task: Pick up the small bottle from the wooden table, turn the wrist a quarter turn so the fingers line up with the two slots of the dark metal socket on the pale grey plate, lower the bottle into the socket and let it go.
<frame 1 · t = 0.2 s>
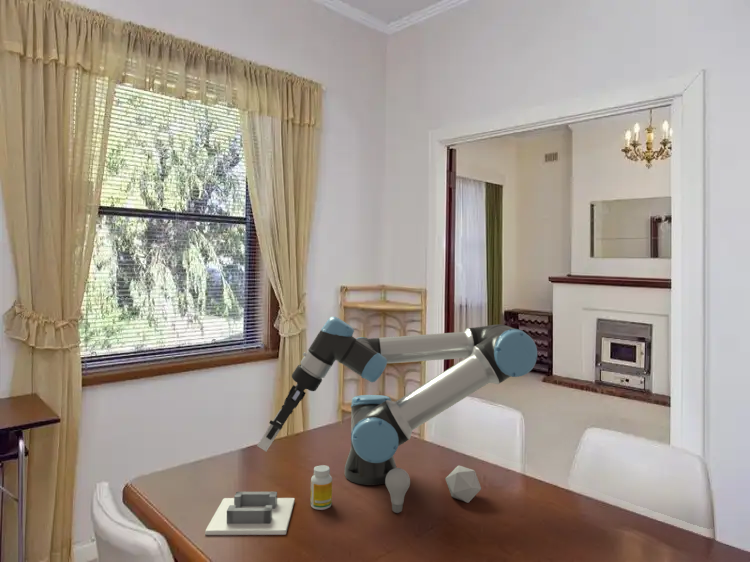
hand: (266, 439, 134), 15 cm above the table, tool tilted 30°, fingers open, 13 cm apart
lightbulb: (397, 513, 127), on the table
die: (462, 498, 135), on the table
socket: (252, 517, 124), on the table
supplement bottle: (321, 506, 130), on the table
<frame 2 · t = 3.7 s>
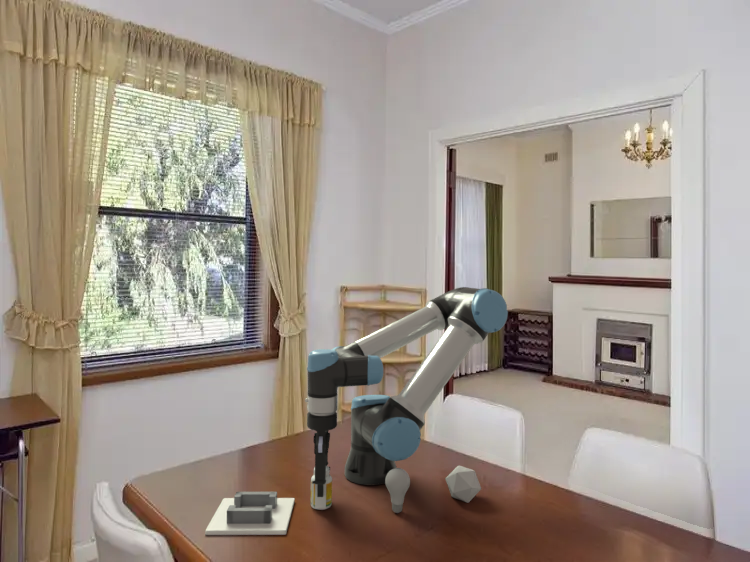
hand: (321, 502, 130), 1 cm above the table, tool pointing down, fingers closed on supplement bottle, 5 cm apart
supplement bottle: (321, 506, 130), on the table, touching gripper
everything else where it was.
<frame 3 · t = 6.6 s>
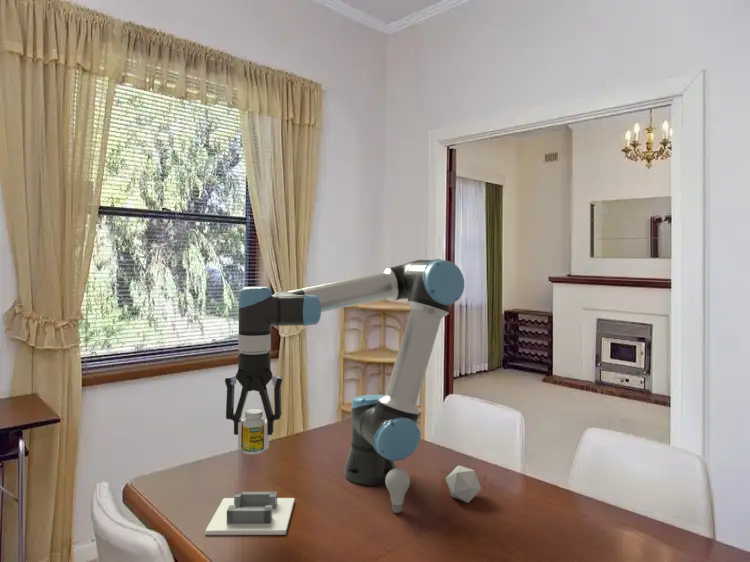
hand: (253, 447, 123), 17 cm above the table, tool pointing down, fingers closed on supplement bottle, 5 cm apart
supplement bottle: (253, 451, 123), point 16 cm above the table, touching gripper
everything else where it was.
when the fingers open (3 cm above the table, at t = 9.5 s): supplement bottle drops 1 cm, resting on socket.
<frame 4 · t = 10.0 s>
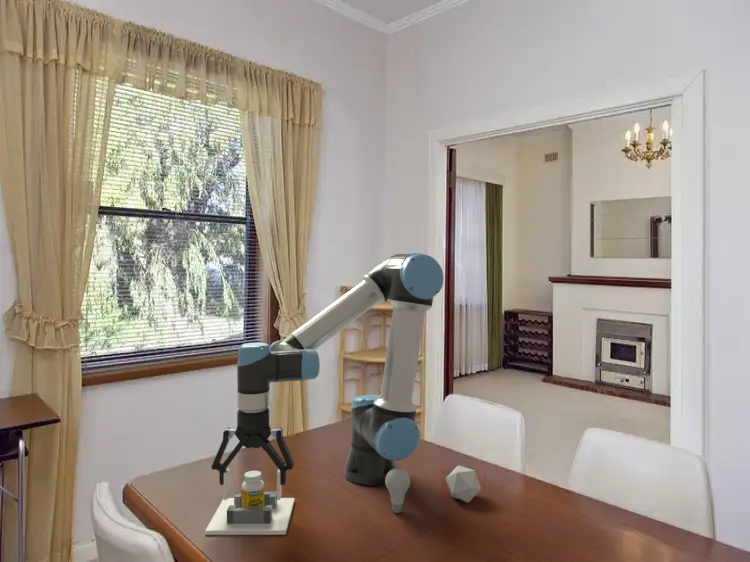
hand: (252, 497, 123), 5 cm above the table, tool pointing down, fingers open, 12 cm apart
supplement bottle: (252, 513, 124), point 1 cm above the table, touching socket
everything else where it was.
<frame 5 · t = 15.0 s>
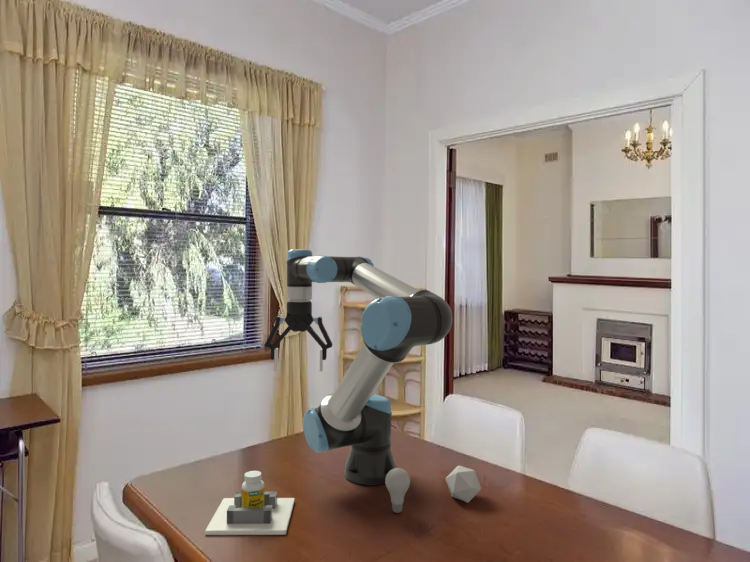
hand: (298, 370, 156), 29 cm above the table, tool pointing down, fingers open, 13 cm apart
nothing on the table moved.
at the end: supplement bottle 0.0 cm off-centre on the socket, point 0.8 cm above the socket's base; supplement bottle tilted 0°; the gripper is holding nothing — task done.
